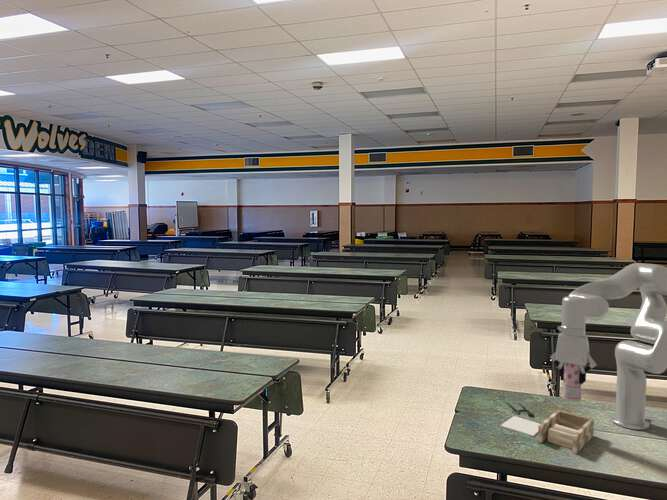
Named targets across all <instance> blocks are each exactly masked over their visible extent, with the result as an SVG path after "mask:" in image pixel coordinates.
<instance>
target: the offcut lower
mask: <svg viewBox="0 0 667 500" xmlns="http://www.w3.org/2000/svg"><path fill="white" fill-rule="evenodd" d="M547 442H549V443H552V444H555V445H558V446H561V447H564V448H567V449H571V450H572V448H573V443H569V442H566V441H563V440H560V439H557V438H554V437H550V436H548V438H547Z"/></svg>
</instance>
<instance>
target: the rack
mask: <svg viewBox="0 0 667 500" xmlns="http://www.w3.org/2000/svg"><path fill="white" fill-rule="evenodd" d="M554 424H558V425H561V426H565V427H568V428H571V429H575V430H578V431H577V432H576V433H575V434H574V435H573V448H572V449H571V450H572V454H573V455H577V454H578V453H579V452H580V451H581V450H582V449H583V448H584V447H585V446H586V444H587V443H588V442H589V441H590V440H591V439H592V438H593V437H594V428H595V426H594V424H595V419H593V418H590V417H586V416H582V415H578V414H575V413H570V412H567V411H564V410H560V409H557V410H556V411H554V412H553V413H552V414H550V416H548V417H546V419H544V420H543V421H542V422H540V425H538V433H537V443H539V444H542V443H544V442H545V441H546V440H548V429H549V428H550V427H551V426H552V425H554Z"/></svg>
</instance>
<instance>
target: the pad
mask: <svg viewBox="0 0 667 500" xmlns="http://www.w3.org/2000/svg"><path fill="white" fill-rule="evenodd" d="M540 424H541V422H540V423H539V422H536V421H532V420H529V419H525V418H523V417H522V418H521V417H518V416H515V415H513V416H512V417H511V418H508V420H505V422H503V423H502V424H500V427H501V428H505V429H507V430H510V431H513V432H517V433H520V434H523V435H525V436H526V435H527V436H529V437H532V438H533V437H535V436H537V435H538V425H540Z"/></svg>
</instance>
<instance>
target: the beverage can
mask: <svg viewBox="0 0 667 500" xmlns="http://www.w3.org/2000/svg"><path fill="white" fill-rule="evenodd" d="M580 373H581V370H580V367H579V365H574V364H571V362H569V363H564V380H562V382H563V384H562V386H563V389H562V390H563V391H562V397H563V398H564V400H566V401H570V402H580V401H581V399H582V384H579V378H580Z"/></svg>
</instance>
